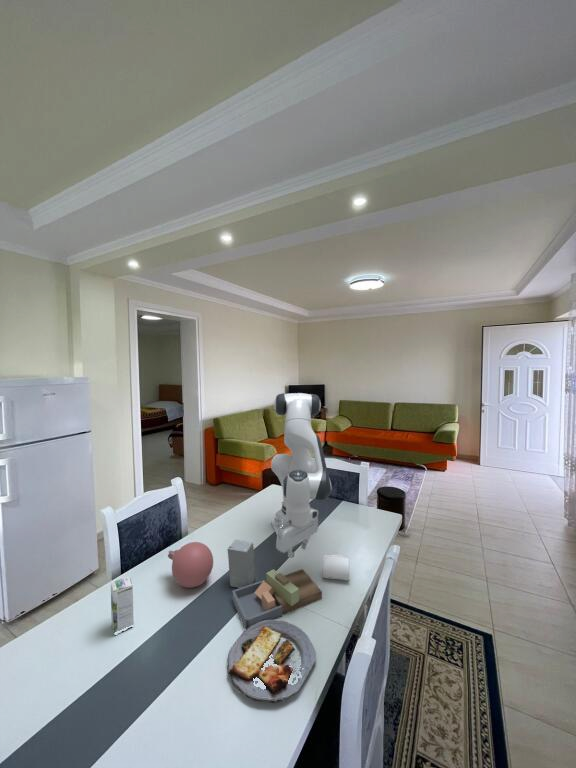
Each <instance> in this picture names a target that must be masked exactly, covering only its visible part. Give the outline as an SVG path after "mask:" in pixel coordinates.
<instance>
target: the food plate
mask: <svg viewBox="0 0 576 768" xmlns="http://www.w3.org/2000/svg"><path fill="white" fill-rule="evenodd" d="M281 638H283V639H284V640H285V641H282V642H281V644H280V641H281ZM279 645H280V646H279ZM293 645H294V646H295V647H294V646H293ZM278 646H279V647H278ZM276 648H277V649H276ZM295 648H296V649H295ZM296 650H297V652H299V653H298V654H299V655H298V656H299V658H300V657H301V658H300V659H301V662H300V663H301V665H300V667H301V668H299V669H300V670H299V669H298V671H300V672H301V675H302V678H298V682H297V683H296V684H294V685H291V684H288V680H289V678H290V675H291V673H292V671H293V670H294V669H293V668H292V667H289V666H291V665H292V663H291V662H294V660H293V659H292V658H294V659H296V657H295V656H292V654H293V653H294V651H296ZM271 654H272V655H273V657H272V656H271V658H272V659H274V661H273V662H274V663H273V664H277V665H278V666H272V665H270V666H269V664H268V667H265V670H264V671H263V670H261V668H263V667H264V666H263V665H264V663H266V661H268V660H269V659H270V658H269V656H270V655H271ZM316 659H317V653H316V650H315V647H314V645H313V642H312V641H311V639H310V638H309V635H308V634H306V632H305V631H303V630H302V628H300V627H299V626H297V625H295V624H292V623H290V622H288V621H286V620H278V619H275V620H264V621H261V622H258V623H256V624H254V625H252V626H250V627H248V628H247V629H246V630H244V631H243V632H242V633H241V634H240V636H239V637H238V638H237V639H236V641H235V642H234V643H233V644H232V646H231V647H230V649H229V650H228V655H227V673H228V675H229V677H230V680H231V683H232V684H233V685H234V686H235V688H237V689H238V690H239V691H240V692H241V693H242V694H243V695H245V697H246V698H247V699H251V700H252V701H254V702H267V703H279V702H283V700H284V701H286V700H287V699H288V698H289V697H290V696H291V697H293V696H294V695H296V694H297V693H298V691H300V689H301V687H302V686H303V684H304V682H305V681H306V679H307V677H308V675H309V673H310V672H311V670H312V668H313V665H314V664H315V663H316ZM290 663H291V665H290ZM292 666H293V665H292ZM302 668H304V669H303V670H302ZM296 674H297V673H296ZM297 676H299V673H298V674H297ZM256 677H257V678H259V679H260V680H261V681H262V682H263V683H264V685H265V686H266V689H264V690H263V689H261V688H260V687H256V686H254V684H253V683H254V681H253V678H254V679H255V678H256ZM295 680H296V677H295V678H293V681H292V683H294V681H295ZM257 683H258V681H255V684H257Z"/></svg>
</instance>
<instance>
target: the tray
mask: <svg viewBox="0 0 576 768" xmlns="http://www.w3.org/2000/svg"><path fill="white" fill-rule="evenodd" d="M263 581H265V582H266V579H263V580H260V581H257V582H253V584H251V585H248V586H245V587H242V588H236V589H233V590H231V601H232V603H233V606H234V608H235V607H236V608H235V610H236V612H237V614H238V616H239V618H241V619H240V620H242V621H241V623H242V622H243V623H242V625H243V627H244V629H247V628H248V627H250V626H252V625H254V624H256V623H258V622H261V621H264V620H278V619H280V618H283V615H282V605H280V606H278V607H277V606H276V604H275V608H273V609H270V610H267V611H264V609H263V608H262V601H261V600H260V599H259V598H258V597H257V596H256V595H255V593H254V592H255V591H256V590H257V589H258V587H259V586H260V585H261V583H262V582H263Z"/></svg>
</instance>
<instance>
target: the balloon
mask: <svg viewBox="0 0 576 768" xmlns="http://www.w3.org/2000/svg"><path fill="white" fill-rule="evenodd" d="M167 557H168V559H170V560H172V564H171V574H172V576H173V578H174V581H175V582H176V583H177V584H178V585H179V586H181V587H183V588H188V589H189V588H190V589H191V588H192V589H193V588H196V587H199V586H201V585H202V584H203V583H205V581H207V580H208V578H209V577H210V575H211V573H212V570H213V568H214V556H213V553H212V551H211V549H210V548H209V547H208V546H207V545H206V544H205V543H203V542H200V541H192V542H188V543H186V544H184V545H183V546H181V547H180V548H179V549H175V550H169V551H168V554H167Z"/></svg>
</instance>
